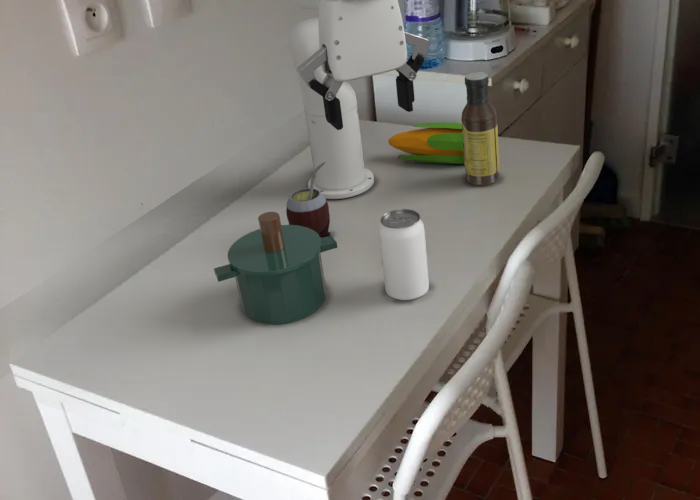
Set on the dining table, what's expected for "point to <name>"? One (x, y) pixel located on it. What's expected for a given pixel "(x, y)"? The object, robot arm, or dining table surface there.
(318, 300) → the pot
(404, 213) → the can
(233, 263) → the pot lid
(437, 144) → the corn
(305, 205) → the mate gourd
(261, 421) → the dining table surface
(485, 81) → the sauce bottle
